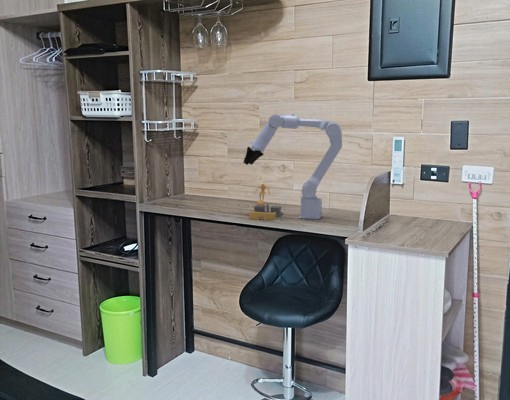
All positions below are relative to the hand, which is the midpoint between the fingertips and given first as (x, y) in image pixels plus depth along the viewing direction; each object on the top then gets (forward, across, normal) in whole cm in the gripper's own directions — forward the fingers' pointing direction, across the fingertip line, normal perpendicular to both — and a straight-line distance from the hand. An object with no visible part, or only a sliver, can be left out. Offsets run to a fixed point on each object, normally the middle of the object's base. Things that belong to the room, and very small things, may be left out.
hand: (247, 163), depth 232 cm
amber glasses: (+16, +3, +20) cm, 26 cm away
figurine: (+18, -22, +14) cm, 31 cm away
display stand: (+15, -6, +20) cm, 26 cm away
